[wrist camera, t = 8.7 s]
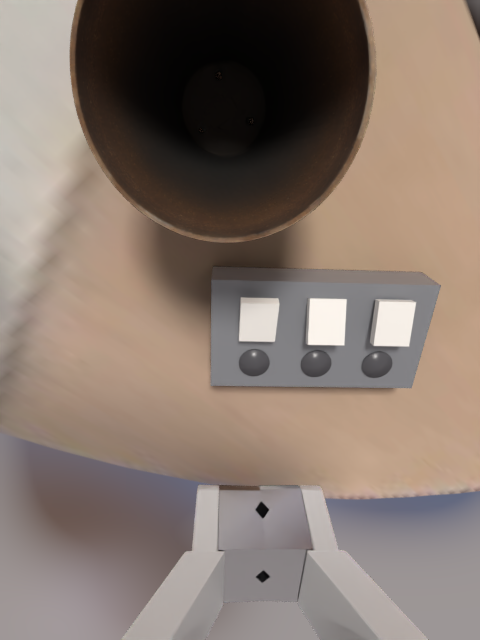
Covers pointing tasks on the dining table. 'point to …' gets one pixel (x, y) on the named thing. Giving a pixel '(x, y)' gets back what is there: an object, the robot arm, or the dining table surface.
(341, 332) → the rocker
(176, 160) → the plant pot
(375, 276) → the switch panel
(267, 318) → the rocker
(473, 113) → the dining table surface
